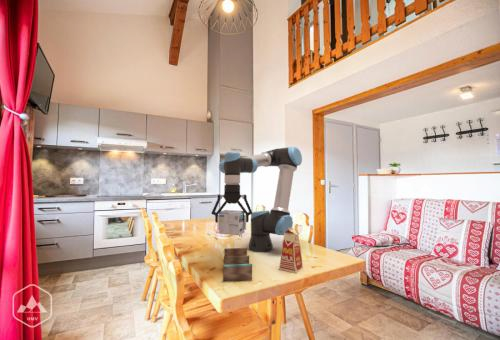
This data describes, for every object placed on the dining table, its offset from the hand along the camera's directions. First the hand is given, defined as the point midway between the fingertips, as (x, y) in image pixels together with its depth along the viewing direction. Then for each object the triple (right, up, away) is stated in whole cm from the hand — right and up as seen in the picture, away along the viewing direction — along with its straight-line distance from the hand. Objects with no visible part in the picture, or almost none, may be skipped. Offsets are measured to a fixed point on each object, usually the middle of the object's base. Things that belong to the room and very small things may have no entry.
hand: (231, 229), depth 118 cm
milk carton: (+28, -19, 0) cm, 34 cm away
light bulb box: (0, -2, 0) cm, 2 cm away
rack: (+2, -19, 0) cm, 19 cm away
